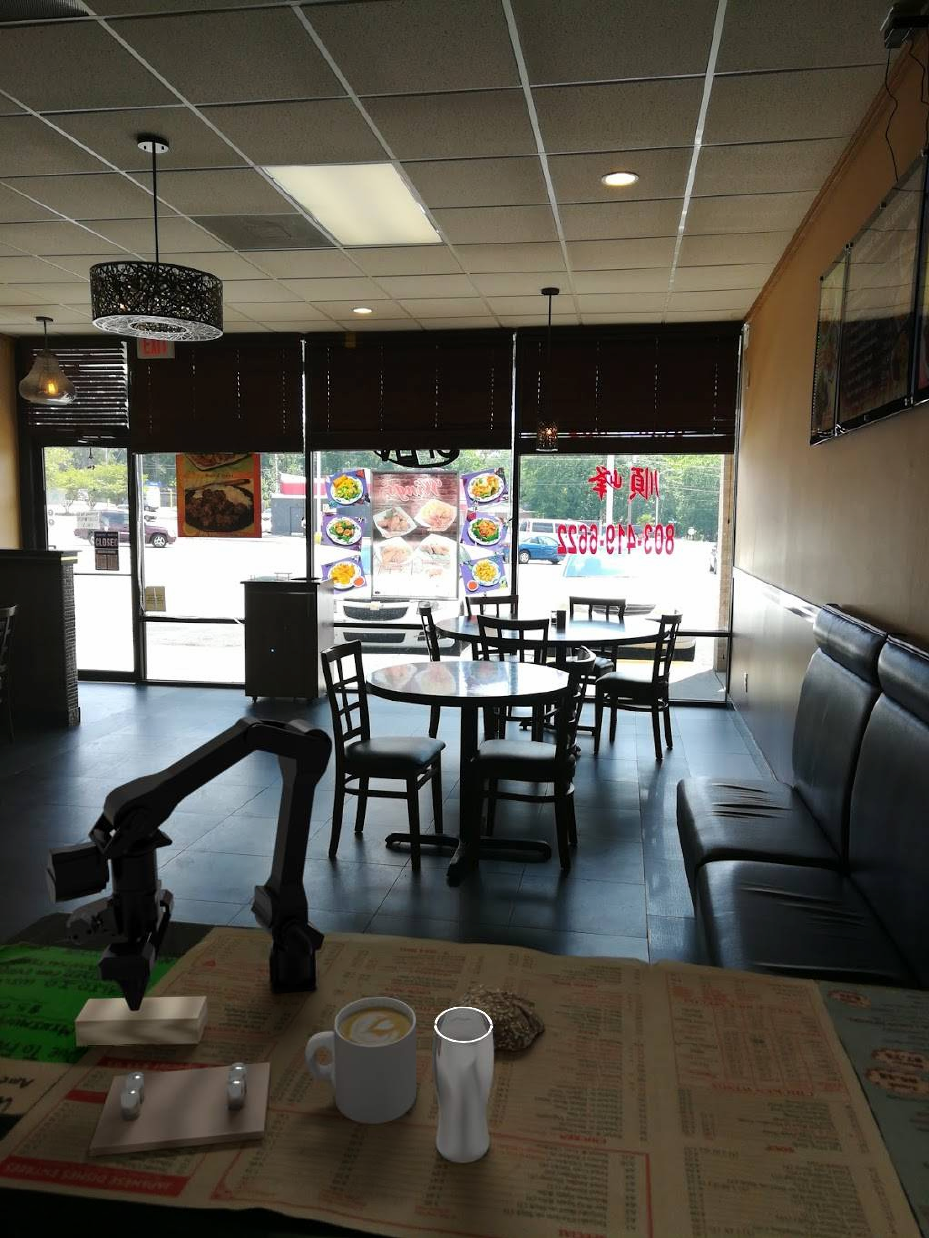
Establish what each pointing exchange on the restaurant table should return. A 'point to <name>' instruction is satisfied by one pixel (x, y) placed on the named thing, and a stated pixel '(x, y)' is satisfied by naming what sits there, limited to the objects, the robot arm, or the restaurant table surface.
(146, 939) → the robot arm
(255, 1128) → the peg holder
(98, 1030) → the pine board
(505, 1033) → the bread roll
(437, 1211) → the restaurant table surface
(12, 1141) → the restaurant table surface
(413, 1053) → the coffee mug
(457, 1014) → the beer glass
